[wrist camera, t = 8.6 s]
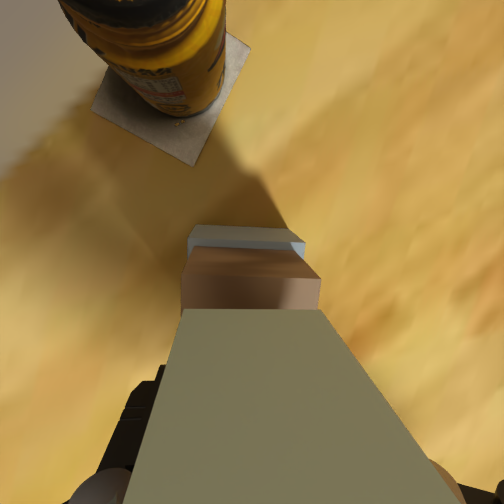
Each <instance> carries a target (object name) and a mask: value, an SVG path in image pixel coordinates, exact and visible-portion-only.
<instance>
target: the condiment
mask: <svg viewBox="0 0 504 504" xmlns="http://www.w3.org/2000/svg"><path fill="white" fill-rule="evenodd" d="M58 2H59V4H60V6H61V9H62V10H63V12H64V14H65V16H66V18H67V19H68V21H69V22H70V24H71V26H72V27H73V29H74V30H75V31H76V33H77V34H78V35H79V36H80V37H81V38H82V40H83V42H85V43H86V44H87V45H88V46H89V47H90V48H91V49H92V50H93V51H94V52H95V53H96V54H97V55H98V56H99V57H100V58H102V59H103V61H105V62H106V63H107V64H108V65H109V66H108V69H107V71H106V73H105V76H104V79H103V81H102V84H101V86H100V88H99V90H98V92H97V94H96V96H95V99H94V102H93V104H92V107H91V109H90V110H91V111H93V112H95V113H97V114H98V115H100V116H102V117H104V118H106V119H107V120H109V121H111V122H113V123H115V124H116V125H118V126H120V127H122V128H124V129H126V130H127V131H129V132H131V133H133V134H134V135H136V136H138V137H140V138H142V139H143V140H145V141H147V142H149V143H151V144H153V145H154V146H156V147H158V148H159V149H161V150H163V151H165V152H167V153H168V154H170V155H172V156H174V157H176V158H178V159H179V160H181V161H183V162H185V163H186V164H188V165H190V166H192V167H193V166H194V164H195V162H196V160H197V158H198V156H199V154H200V152H201V150H202V148H203V146H204V144H205V142H206V140H207V138H208V135H209V134H210V132H211V130H212V128H213V125H214V124H215V122H216V119H217V117H218V115H219V113H220V112H221V110H222V108H223V106H224V103H225V101H226V99H227V97H228V95H229V93H230V91H231V89H232V87H233V85H234V83H235V81H236V79H237V77H238V75H239V73H240V71H241V69H242V67H243V65H244V63H245V61H246V58H247V56H248V54H249V52H250V50H251V48H250V47H248V46H246V45H245V44H244V43H242V42H241V41H239V40H238V39H236V38H235V37H233V36H231V35H230V34H229V33H227V32H226V6H225V5H226V0H58ZM181 120H184V121H185V122H184V123H181ZM176 123H180V125H178V126H175V125H174V124H176Z"/></svg>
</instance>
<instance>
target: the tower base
mask: <svg viewBox="0 0 504 504" xmlns="http://www.w3.org/2000/svg"><path fill="white" fill-rule="evenodd" d="M194 246H208V247H230V248H251V249H273V250H295V251H296V252H297V254H298V255H299V256H300V257H301V258H302V259H303V260H304V251H305V242H304V241H303V240H301V239H300V238H299V237H298V236H297V235H295V234H294V233H293V232H292V231H291V230H289V229H285V228H264V227H243V226H221V225H200V224H196V225H195V227H194V228H193V230H192V232H191V233H190V235H189V236H188V238H187V260H188V258H189V256H190V254H191V252H192V250H193V247H194Z"/></svg>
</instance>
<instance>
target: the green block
mask: <svg viewBox="0 0 504 504" xmlns="http://www.w3.org/2000/svg"><path fill="white" fill-rule="evenodd" d="M123 504H461V503H460V502H459V500H458V499H457V498H456V496H455V495H454V493H453V492H452V491H451V489H450V488H449V487H448V485H447V484H446V482H445V481H444V480H443V478H442V477H441V475H440V474H439V473H438V471H437V470H436V469H435V467H434V466H433V464H432V463H431V462H430V460H429V459H428V457H427V456H426V455H425V453H424V452H423V451H422V449H421V448H420V446H419V445H418V444H417V442H416V441H415V439H414V438H413V437H412V435H411V434H410V433H409V431H408V430H407V428H406V427H405V426H404V424H403V423H402V421H401V420H400V419H399V417H398V416H397V415H396V413H395V412H394V410H393V409H392V408H391V406H390V405H389V403H388V402H387V401H386V399H385V398H384V397H383V395H382V394H381V392H380V391H379V390H378V388H377V387H376V386H375V384H374V383H373V381H372V380H371V379H370V377H369V376H368V374H367V373H366V372H365V370H364V369H363V368H362V366H361V365H360V363H359V362H358V361H357V359H356V358H355V356H354V355H353V354H352V352H351V351H350V350H349V348H348V347H347V345H346V344H345V343H344V341H343V340H342V338H341V337H340V336H339V334H338V333H337V332H336V330H335V329H334V327H333V326H332V325H331V323H330V322H329V320H328V319H327V318H326V316H325V315H324V314H323V312H322V311H321V310H295V309H184V310H183V313H182V316H181V320H180V323H179V326H178V329H177V332H176V336H175V339H174V342H173V345H172V348H171V351H170V355H169V358H168V361H167V364H166V367H165V370H164V374H163V377H162V380H161V383H160V386H159V390H158V393H157V396H156V399H155V402H154V405H153V409H152V412H151V415H150V418H149V421H148V425H147V428H146V431H145V434H144V437H143V440H142V444H141V447H140V450H139V453H138V456H137V459H136V463H135V466H134V469H133V472H132V475H131V479H130V482H129V485H128V488H127V491H126V494H125V498H124V501H123Z"/></svg>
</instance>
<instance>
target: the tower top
mask: <svg viewBox="0 0 504 504" xmlns="http://www.w3.org/2000/svg"><path fill="white" fill-rule="evenodd" d="M320 285H321V278H320V277H319V276H318V275H317V274H316V273H315V272H314V271H313V270H312V269H311V267H310V266H309V265H308V264H307V263H306V262H305V261H304V260H303V259H302V258H301V257H300V256H299V255H298V254H297V252H296V251H295V250H273V249H251V248H230V247H208V246H194V247H193V250H192V252H191V254H190V256H189V258H188V260H187V263H186V265H185V267H184V269H183V271H182V273H181V316H182V313H183V310H184V309H295V310H317V307H318V300H319V292H320Z"/></svg>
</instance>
